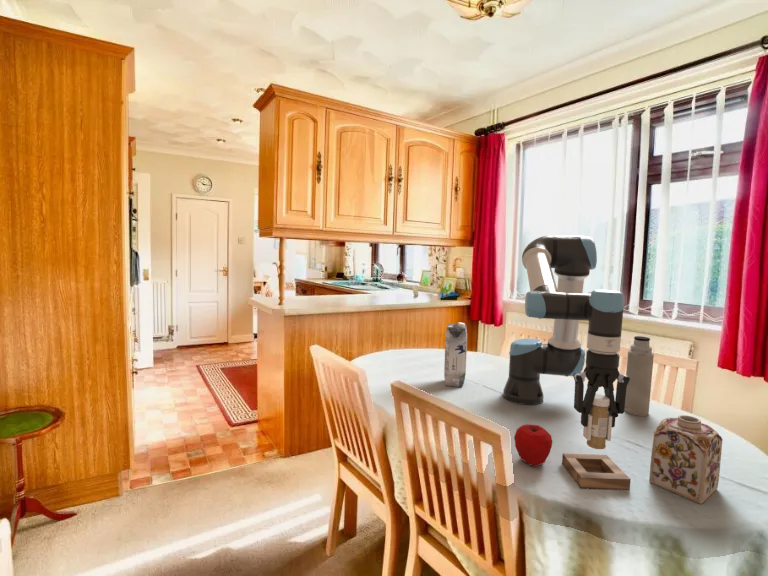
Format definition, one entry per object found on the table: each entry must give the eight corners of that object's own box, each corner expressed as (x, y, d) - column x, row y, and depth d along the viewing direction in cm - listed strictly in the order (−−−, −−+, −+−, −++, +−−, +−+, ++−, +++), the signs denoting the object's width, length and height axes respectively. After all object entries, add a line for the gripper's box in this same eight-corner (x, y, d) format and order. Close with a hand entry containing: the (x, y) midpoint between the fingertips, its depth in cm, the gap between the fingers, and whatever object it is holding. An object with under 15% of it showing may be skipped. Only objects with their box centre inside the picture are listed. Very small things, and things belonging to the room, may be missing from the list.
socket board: (561, 463, 116) (562, 453, 115) (605, 465, 115) (606, 454, 115) (580, 488, 104) (581, 477, 103) (629, 490, 103) (630, 479, 103)
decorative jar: (702, 506, 98) (709, 433, 96) (647, 482, 107) (653, 415, 105) (719, 489, 105) (726, 420, 103) (666, 468, 114) (672, 405, 112)
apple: (507, 462, 116) (509, 424, 115) (523, 450, 123) (525, 415, 122) (541, 476, 109) (543, 436, 108) (556, 463, 116) (559, 426, 115)
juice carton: (443, 386, 177) (445, 324, 174) (445, 378, 187) (447, 319, 184) (464, 388, 175) (466, 325, 172) (465, 380, 185) (467, 320, 182)
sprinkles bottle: (582, 442, 111) (586, 393, 109) (599, 441, 111) (602, 393, 110) (593, 450, 106) (596, 400, 105) (609, 450, 106) (613, 399, 105)
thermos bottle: (620, 406, 158) (626, 334, 155) (644, 408, 156) (650, 335, 153) (626, 414, 150) (633, 338, 147) (651, 417, 148) (658, 340, 145)
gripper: (574, 353, 102) (568, 444, 105) (646, 355, 102) (638, 446, 104) (562, 346, 110) (557, 430, 112) (629, 347, 109) (622, 432, 112)
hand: (596, 437), depth 108 cm, fingers closed on sprinkles bottle, 4 cm apart
